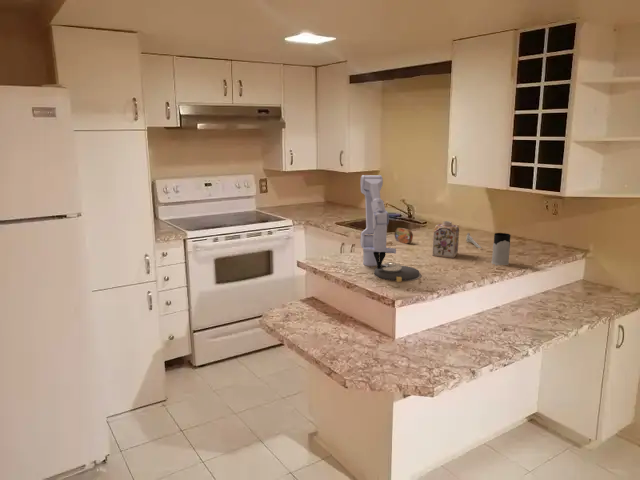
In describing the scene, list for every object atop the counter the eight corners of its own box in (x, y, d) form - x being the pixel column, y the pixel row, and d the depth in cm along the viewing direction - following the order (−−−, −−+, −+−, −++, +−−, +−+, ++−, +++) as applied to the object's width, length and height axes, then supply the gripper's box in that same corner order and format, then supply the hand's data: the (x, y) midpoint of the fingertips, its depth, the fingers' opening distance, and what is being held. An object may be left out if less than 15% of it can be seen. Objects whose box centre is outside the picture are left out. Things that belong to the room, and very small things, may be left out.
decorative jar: (458, 253, 268) (460, 221, 264) (454, 258, 257) (456, 224, 254) (436, 251, 273) (438, 219, 269) (431, 255, 262) (433, 222, 259)
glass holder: (494, 265, 243) (496, 236, 240) (484, 258, 257) (487, 230, 254) (511, 266, 243) (514, 236, 240) (501, 259, 257) (504, 230, 254)
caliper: (465, 242, 297) (466, 232, 296) (467, 242, 297) (468, 232, 296) (480, 250, 277) (481, 239, 276) (482, 250, 277) (483, 239, 276)
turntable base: (371, 269, 234) (371, 267, 234) (417, 270, 233) (417, 268, 233) (373, 283, 213) (373, 280, 212) (424, 284, 211) (424, 281, 211)
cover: (380, 267, 227) (381, 260, 226) (400, 268, 226) (400, 261, 226) (381, 273, 218) (382, 265, 218) (402, 273, 218) (402, 266, 217)
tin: (393, 240, 301) (394, 226, 300) (398, 239, 303) (398, 226, 301) (409, 245, 288) (409, 230, 286) (413, 244, 290) (414, 230, 288)
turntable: (373, 267, 233) (373, 264, 233) (416, 268, 232) (416, 265, 231) (375, 281, 211) (375, 277, 211) (422, 282, 210) (423, 279, 210)
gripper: (363, 240, 216) (363, 270, 219) (397, 241, 215) (395, 271, 218) (363, 237, 223) (362, 266, 226) (395, 237, 222) (394, 267, 225)
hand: (378, 268), depth 222 cm, fingers closed
